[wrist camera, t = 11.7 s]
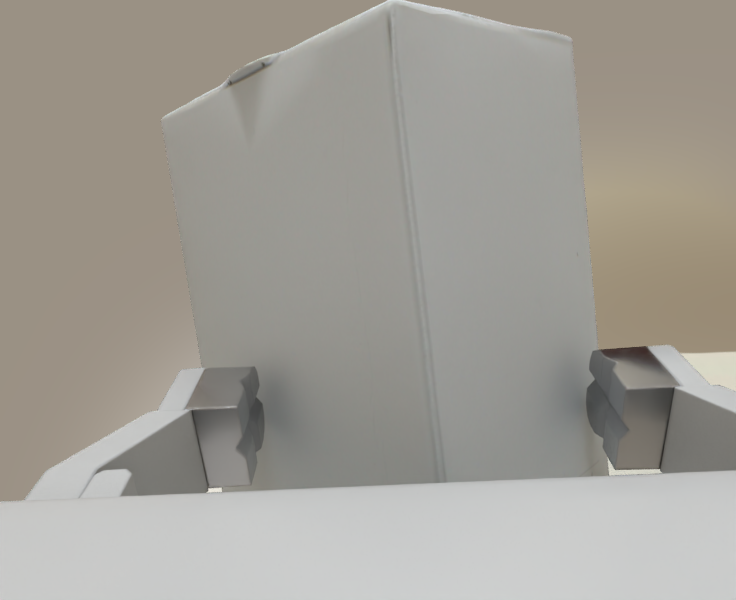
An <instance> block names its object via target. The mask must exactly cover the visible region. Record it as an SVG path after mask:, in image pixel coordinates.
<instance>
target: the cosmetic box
mask: <svg viewBox="0 0 736 600" xmlns="http://www.w3.org/2000/svg"><path fill="white" fill-rule="evenodd" d="M161 124H162V129H163V135H164V142H165V148H166V153H167V160H168V165H169V171H170V178H171V184H172V190H173V197H174V203H175V209H176V214H177V221H178V227H179V232H180V239H181V244H182V251H183V257H184V263H185V269H186V275H187V281H188V287H189V293H190V300H191V305H192V311H193V317H194V323H195V329H196V335H197V341H198V347H199V353H200V359H201V365H202V368H204V367H205V368H218V367H251V366H255V368H256V370H257V373H258V379H259V384H260V386H259V389H258V392H257V396H256V397H257V398H258V399H259V400H260V401H261V402H262V403H263V410H264V421H265V428H264V440H263V444H262V448H261V449H260V450H258V451H257V452H256V456H257V462H258V463H257V466H256V470H255V474H254V477H253V481H252V485H248V486H234V487H222V492H236V491H260V490H283V489H307V488H330V487H354V486H378V485H401V484H425V483H448V482H472V481H496V480H519V479H542V478H566V477H589V476H609V470H608V459H607V455H606V453H605V451H604V449H603V448H602V447H603V438H602V437H600V436H598V435H597V434H595V433H594V431H593V429H592V428H591V426H590V423H589V420H588V417H587V409H586V393H587V388H588V386H589V385H590V384H591V383H592V382H593V381H594V380H595V378H594V377H593V375H592V374H591V372H590V370H589V363H590V357H591V354H592V351H595V350H598V337H597V327H596V317H595V304H594V293H593V279H592V268H591V258H590V246H589V233H588V220H587V208H586V198H585V188H584V178H583V166H582V152H581V140H580V128H579V118H578V108H577V96H576V83H575V71H574V59H573V42H572V39H571V38H570V37H568V36H565V35H562V34H558V33H555V32H552V31H545V30H538V29H530V28H524V27H518V26H513V25H508V24H505V23H501V22H497V21H493V20H489V19H486V18H482V17H478V16H474V15H470V14H466V13H462V12H457V11H453V10H448V9H443V8H438V7H433V6H428V5H423V4H418V3H413V2H409V1H403V0H388V1H386V2H384V3H382V4H380V5H378V6H376V7H374V8H372V9H369V10H368V11H365V12H363V13H362V14H359V15H357V16H355V17H353V18H351V19H349V20H347V21H345V22H343V23H341V24H338V25H336V26H334V27H332V28H330V29H328V30H326V31H324V32H322V33H320V34H318V35H316V36H314V37H312V38H310V39H308V40H306V41H304V42H302V43H300V44H298V45H297V46H294V47H292V48H291V49H289V50H286V51H283V52H279V53H275V54H271V55H268V56H265V57H263V58H261V59H258V60H256V61H253V62H251V63H248V64H247V65H245V66H243V67H242V68H240V69H238V70H237V71H235V72H234V73H232V74H231V75H230V76H229V77H228V79H227V80H226V81H225V82H224V83H223V84H222V85H221V86H219V87H217V88H215V89H213V90H211V91H209V92H208V93H205V94H204V95H202V96H200V97H198V98H196V99H194V100H193V101H191V102H189V103H188V104H186V105H184V106H182V107H180V108H178V109H177V110H175V111H173V112H171V113H169V114H167V115H166V116H164V117H163V118H162V120H161Z"/></svg>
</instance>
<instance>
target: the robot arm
mask: <svg viewBox="0 0 736 600" xmlns="http://www.w3.org/2000/svg"><path fill="white" fill-rule="evenodd" d="M589 370H590V372H591V374H592V375H593V377H594V378H595V380H594V381H593V382H592V383H591V384H590V385H589V386H588V388H587V393H586V409H587V417H588V420H589V423H590V426H591V428H592V429H593V431H594V433H595V434H597V435H598V436H600V437H602V438H603V447H602V448H603V449H604V451H605V453H606V455H607V457H608V458H609V460H610V462H611V464H612V465H613V467H614V469H615V470H631V469H660V471H661V472H663V473H659V474H636V475H612V476H589V477H566V478H542V479H519V480H496V481H472V482H448V483H425V484H401V485H378V486H354V487H330V488H307V489H283V490H260V491H236V492H212V493H206V492H207V491H208V488H220V487H234V486H248V485H252V481H253V477H254V474H255V470H256V466H257V463H258V462H257V456H256V452H257V451H258V450H260V449H261V448H262V444H263V440H264V428H265V421H264V410H263V403H262V402H261V401H260V400H259V399H258V398H257V397H256V396H257V392H258V389H259V386H260V384H259V379H258V373H257V370H256V368H255V366H251V367H218V368H205V367H204V368H191V369H183V370H180V371H179V373H178V375H177V377H176V378H175V380H174V382H173V384H172V385H171V387H170V389H169V390H168V392H167V394H166V396H165V397H164V399H163V401H162V403H161V404H160V406H159V408H158V409H157V411H151V412H148V413H146V414H144V415H143V416H141V417H139V418H137V419H135V420H134V421H132V422H130V423H129V424H127V425H125V426H123V427H122V428H120V429H118V430H116V431H114V432H113V433H111V434H109V435H108V436H106V437H104V438H102V439H101V440H99V441H97V442H96V443H94V444H92V445H90V446H89V447H87V448H85V449H83V450H81V451H80V452H78V453H76V454H74V455H73V456H71V457H69V458H67V459H66V460H64V461H62V462H60V463H59V464H57V465H55V466H53V467H52V468H50V469H48V470H46V471H45V473H44V474H43V476H42V477H41V478H40V479H39V481H38V482H37V483H36V485H35V486H34V487H33V489H32V490H31V491H30V493H29V494H28V495H27V497H26V498H25V499H24V501H4V502H0V600H736V391H734V390H731V389H728V388H726V387H723V386H721V385H710V384H709V383H708V382H707V381H706V380H705V379H704V378H703V377H702V376H701V374H700V373H699V372H698V371H697V370H696V369H695V368H694V367H693V366H692V365H691V364H690V363H689V362H688V361H687V360H686V359H685V358H684V357H683V356H682V355H681V354H680V353H679V352H678V351H677V350H676V349H675V348H674V347H673V346H670V345H659V346H647V347H646V346H644V347H631V348H617V349H604V350H595V351H592V354H591V357H590V363H589Z"/></svg>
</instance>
